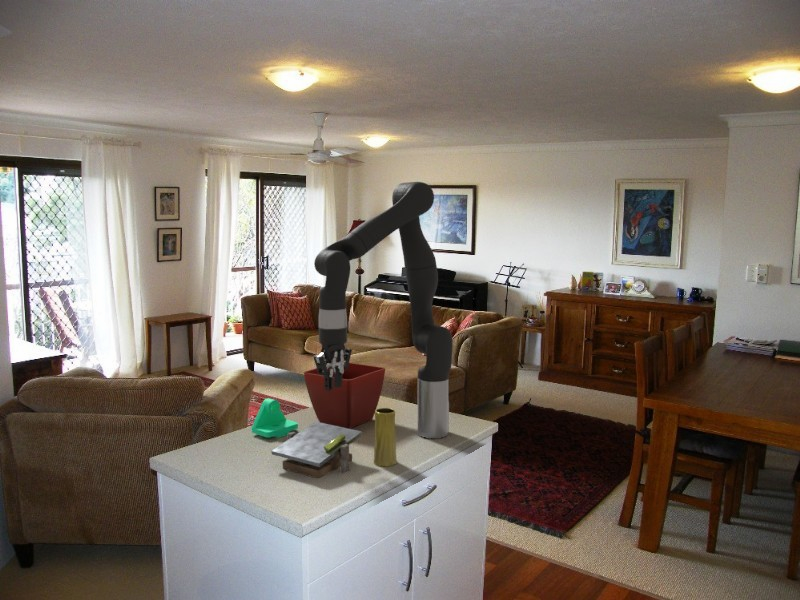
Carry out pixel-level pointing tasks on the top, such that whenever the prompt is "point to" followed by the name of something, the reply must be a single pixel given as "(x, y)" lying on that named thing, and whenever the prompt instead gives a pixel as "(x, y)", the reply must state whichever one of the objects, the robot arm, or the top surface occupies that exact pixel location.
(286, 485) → the top surface
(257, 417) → the camera mount
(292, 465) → the levelling stand
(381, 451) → the vase
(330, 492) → the top surface
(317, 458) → the tilt plate
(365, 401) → the plant pot
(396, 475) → the top surface
